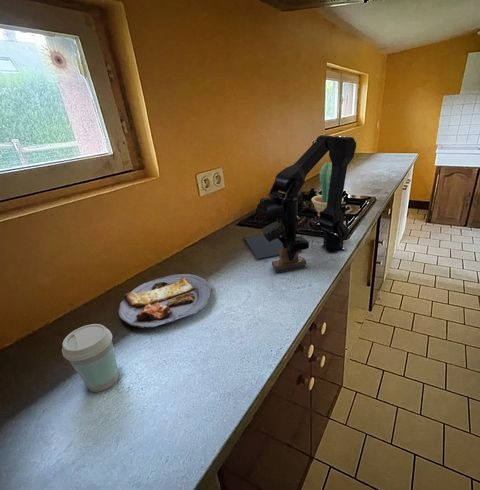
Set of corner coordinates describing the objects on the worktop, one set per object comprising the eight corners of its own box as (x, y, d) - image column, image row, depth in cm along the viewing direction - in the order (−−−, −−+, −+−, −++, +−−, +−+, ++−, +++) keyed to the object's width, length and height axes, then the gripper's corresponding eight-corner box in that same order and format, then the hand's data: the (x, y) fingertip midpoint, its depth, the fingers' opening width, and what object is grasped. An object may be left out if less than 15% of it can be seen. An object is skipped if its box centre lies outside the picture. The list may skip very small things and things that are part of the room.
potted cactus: (321, 222, 139) (323, 167, 128) (305, 212, 152) (305, 161, 140) (349, 216, 145) (353, 163, 133) (331, 207, 157) (333, 158, 146)
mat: (283, 232, 130) (283, 231, 130) (301, 251, 113) (301, 250, 113) (244, 239, 126) (244, 238, 125) (257, 259, 109) (257, 258, 108)
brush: (301, 262, 106) (301, 244, 102) (306, 267, 102) (306, 248, 99) (271, 268, 103) (270, 249, 99) (275, 273, 99) (274, 254, 96)
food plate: (122, 343, 73) (118, 332, 71) (117, 296, 91) (114, 286, 90) (221, 311, 83) (219, 300, 81) (199, 274, 101) (197, 265, 99)
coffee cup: (92, 366, 67) (73, 323, 61) (131, 362, 67) (116, 320, 62) (72, 400, 59) (48, 355, 54) (117, 395, 60) (98, 350, 54)
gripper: (255, 208, 99) (258, 251, 107) (273, 228, 84) (275, 276, 91) (287, 204, 102) (288, 246, 110) (310, 222, 86) (309, 269, 94)
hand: (289, 258), depth 101 cm, fingers closed on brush, 2 cm apart
